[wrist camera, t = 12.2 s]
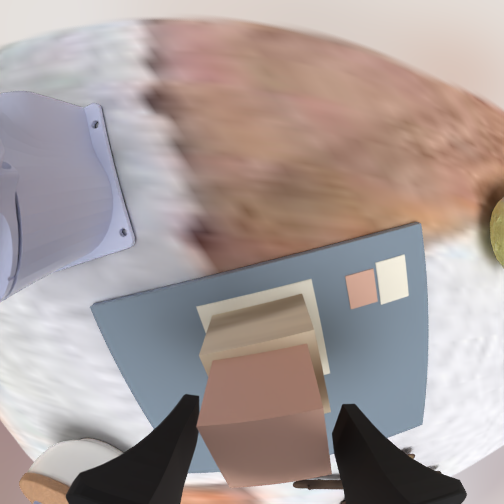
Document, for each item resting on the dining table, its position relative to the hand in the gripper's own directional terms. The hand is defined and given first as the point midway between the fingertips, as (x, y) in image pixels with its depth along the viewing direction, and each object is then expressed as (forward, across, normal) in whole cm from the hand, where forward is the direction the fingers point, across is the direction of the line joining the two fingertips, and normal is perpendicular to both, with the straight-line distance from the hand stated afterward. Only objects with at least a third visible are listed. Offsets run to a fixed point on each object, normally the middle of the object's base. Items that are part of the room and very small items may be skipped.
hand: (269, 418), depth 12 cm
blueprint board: (+7, -1, +4) cm, 8 cm away
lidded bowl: (+8, +15, +18) cm, 25 cm away
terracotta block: (+2, 0, 0) cm, 2 cm away
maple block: (+7, 0, 0) cm, 7 cm away
